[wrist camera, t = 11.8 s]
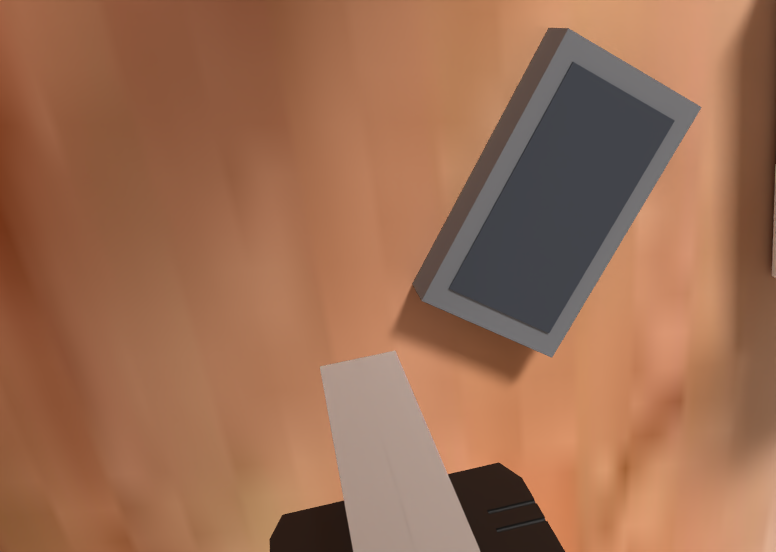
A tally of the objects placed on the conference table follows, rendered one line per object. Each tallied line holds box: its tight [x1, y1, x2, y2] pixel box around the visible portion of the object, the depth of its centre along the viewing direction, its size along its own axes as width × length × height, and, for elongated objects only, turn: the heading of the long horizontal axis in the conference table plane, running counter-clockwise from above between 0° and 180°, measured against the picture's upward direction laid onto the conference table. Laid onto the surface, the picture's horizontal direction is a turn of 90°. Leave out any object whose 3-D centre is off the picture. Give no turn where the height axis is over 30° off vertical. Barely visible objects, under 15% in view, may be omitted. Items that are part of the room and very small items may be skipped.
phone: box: [412, 28, 701, 357], centre depth 26 cm, size 10×6×2 cm, turn 153°
